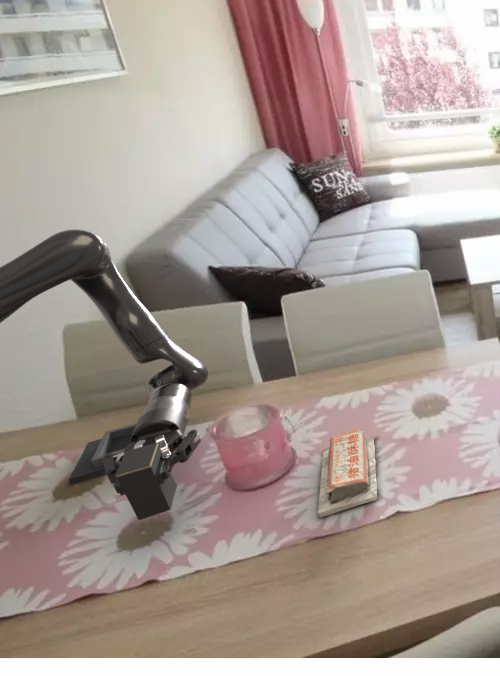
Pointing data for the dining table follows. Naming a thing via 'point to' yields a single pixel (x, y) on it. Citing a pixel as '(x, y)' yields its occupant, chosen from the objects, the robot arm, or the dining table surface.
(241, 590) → the dining table surface
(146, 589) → the dining table surface
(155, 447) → the black box
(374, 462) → the packaged product
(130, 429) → the base pad
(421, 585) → the dining table surface
